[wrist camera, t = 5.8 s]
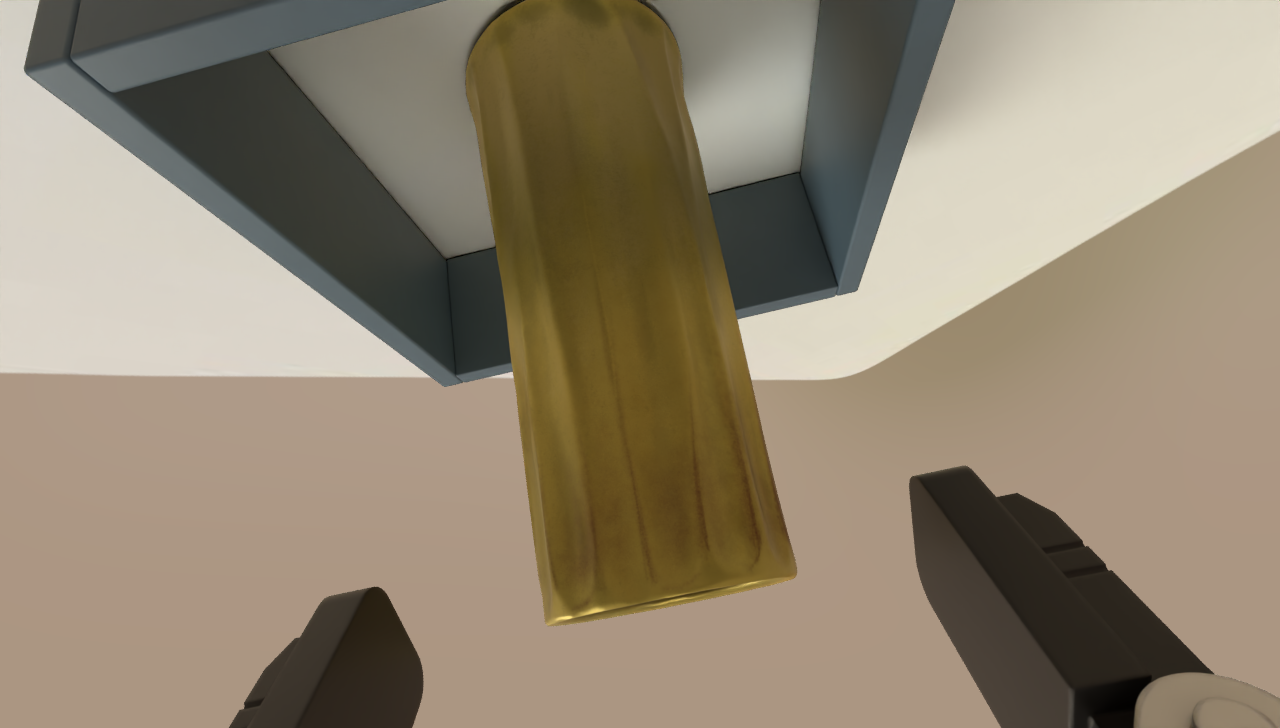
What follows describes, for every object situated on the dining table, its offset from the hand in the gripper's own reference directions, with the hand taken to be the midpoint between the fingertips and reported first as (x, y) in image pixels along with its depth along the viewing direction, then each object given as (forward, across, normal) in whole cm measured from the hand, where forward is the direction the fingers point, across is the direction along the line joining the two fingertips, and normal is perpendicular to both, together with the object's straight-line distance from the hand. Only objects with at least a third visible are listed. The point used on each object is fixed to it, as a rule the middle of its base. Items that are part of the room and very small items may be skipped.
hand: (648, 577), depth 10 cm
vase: (+13, 0, -7) cm, 15 cm away
